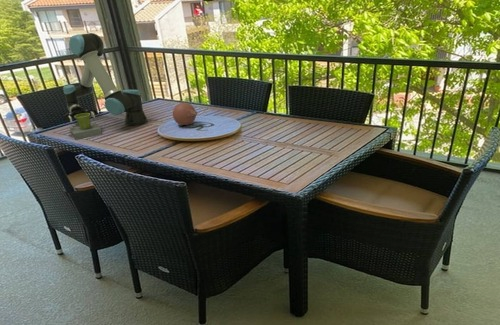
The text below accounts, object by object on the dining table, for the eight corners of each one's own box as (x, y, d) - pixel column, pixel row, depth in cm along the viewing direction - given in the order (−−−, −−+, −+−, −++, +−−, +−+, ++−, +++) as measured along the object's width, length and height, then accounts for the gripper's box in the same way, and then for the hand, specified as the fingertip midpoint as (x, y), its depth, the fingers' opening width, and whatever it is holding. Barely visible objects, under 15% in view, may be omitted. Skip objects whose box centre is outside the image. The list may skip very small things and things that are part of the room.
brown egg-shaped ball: (187, 131, 225) (185, 108, 218) (169, 126, 237) (166, 103, 231) (206, 125, 235) (204, 103, 228) (187, 120, 247) (185, 98, 241)
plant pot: (87, 130, 223) (84, 117, 219) (74, 130, 225) (71, 117, 221) (96, 125, 231) (93, 113, 227) (83, 125, 233) (80, 112, 229)
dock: (96, 128, 238) (95, 123, 236) (101, 134, 227) (100, 128, 226) (71, 134, 230) (69, 128, 229) (75, 139, 220) (73, 133, 218)
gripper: (97, 112, 246) (104, 119, 230) (58, 119, 234) (62, 127, 218) (94, 102, 243) (101, 108, 227) (55, 109, 231) (59, 116, 214)
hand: (82, 117), depth 222 cm, fingers open, 13 cm apart
